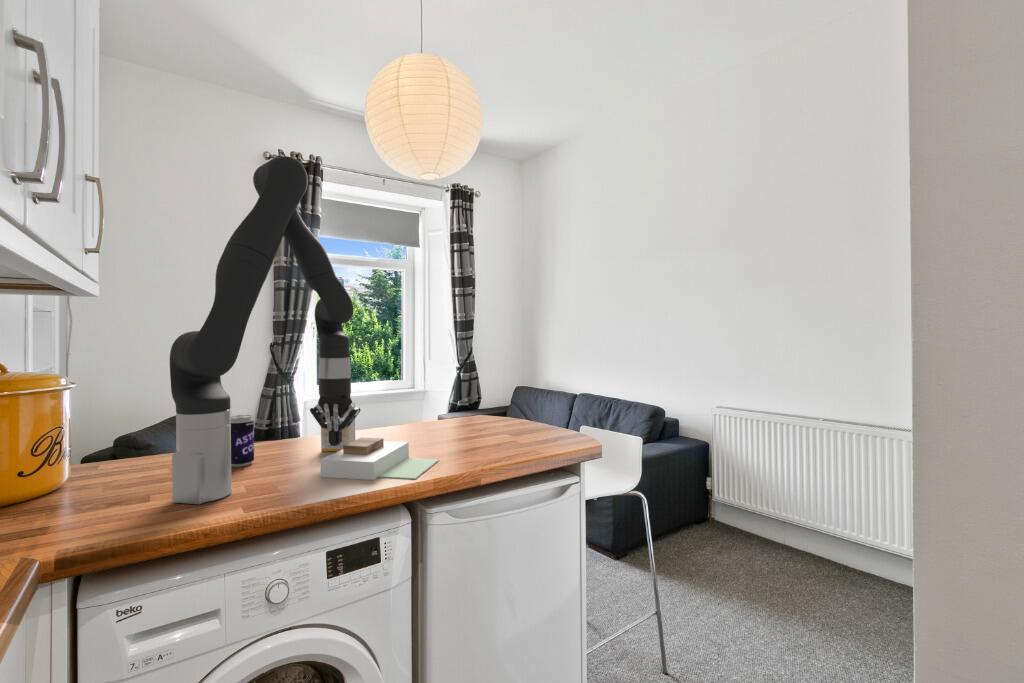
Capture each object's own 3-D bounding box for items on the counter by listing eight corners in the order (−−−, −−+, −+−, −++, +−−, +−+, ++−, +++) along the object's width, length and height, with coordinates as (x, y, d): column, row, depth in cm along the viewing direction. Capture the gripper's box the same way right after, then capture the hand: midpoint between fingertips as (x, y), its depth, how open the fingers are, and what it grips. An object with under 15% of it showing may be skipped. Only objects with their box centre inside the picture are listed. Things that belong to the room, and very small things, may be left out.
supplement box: (356, 448, 137) (356, 402, 137) (349, 452, 132) (348, 404, 132) (328, 447, 138) (328, 402, 138) (320, 451, 133) (319, 404, 133)
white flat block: (373, 480, 108) (373, 462, 107) (320, 476, 110) (320, 459, 110) (408, 457, 127) (408, 442, 127) (363, 454, 130) (363, 440, 129)
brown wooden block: (366, 455, 114) (366, 446, 114) (343, 453, 115) (343, 445, 115) (383, 446, 123) (383, 438, 122) (361, 445, 124) (361, 437, 124)
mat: (415, 479, 108) (415, 478, 108) (377, 477, 109) (377, 476, 109) (438, 460, 124) (438, 459, 124) (405, 459, 125) (405, 457, 125)
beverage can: (234, 468, 116) (233, 419, 116) (224, 465, 120) (223, 417, 120) (258, 463, 121) (257, 416, 121) (247, 460, 124) (247, 413, 124)
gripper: (301, 376, 117) (302, 447, 118) (351, 377, 115) (352, 450, 115) (319, 374, 125) (319, 440, 125) (366, 375, 122) (367, 442, 123)
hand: (335, 445), depth 120 cm, fingers closed
